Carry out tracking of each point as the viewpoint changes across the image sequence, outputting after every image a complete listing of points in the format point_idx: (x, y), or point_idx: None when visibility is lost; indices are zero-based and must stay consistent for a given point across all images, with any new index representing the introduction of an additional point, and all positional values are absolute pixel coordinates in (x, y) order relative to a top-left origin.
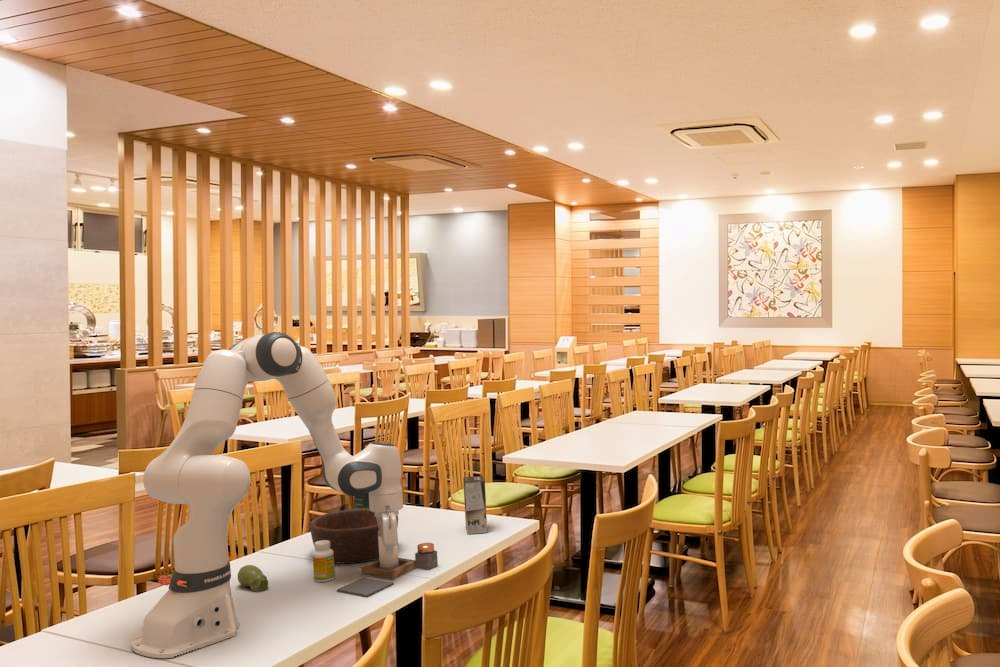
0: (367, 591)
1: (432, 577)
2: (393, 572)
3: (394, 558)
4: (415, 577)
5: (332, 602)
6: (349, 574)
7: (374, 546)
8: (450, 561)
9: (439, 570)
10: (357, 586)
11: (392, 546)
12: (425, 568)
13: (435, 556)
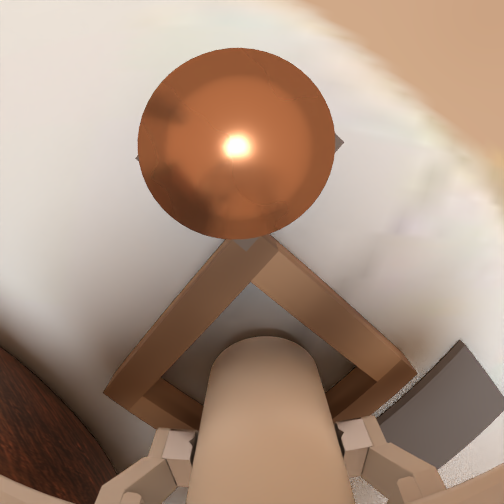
0: (486, 412)
1: (444, 148)
2: (408, 365)
3: (323, 398)
4: (415, 239)
5: (473, 464)
6: None
7: (70, 458)
8: (175, 13)
9: (339, 84)
10: (426, 451)
11: (428, 470)
12: None
13: None
